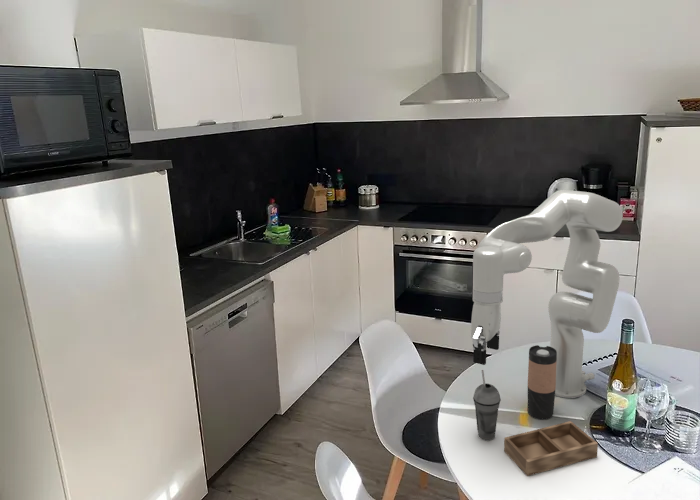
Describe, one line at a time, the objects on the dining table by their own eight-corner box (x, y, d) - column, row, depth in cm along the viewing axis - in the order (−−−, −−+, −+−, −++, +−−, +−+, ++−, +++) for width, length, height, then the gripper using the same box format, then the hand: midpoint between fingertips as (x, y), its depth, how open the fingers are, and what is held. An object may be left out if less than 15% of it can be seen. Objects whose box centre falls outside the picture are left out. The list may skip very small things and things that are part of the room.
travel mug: (540, 423, 158) (543, 359, 152) (521, 410, 164) (522, 349, 159) (560, 415, 161) (563, 352, 156) (540, 403, 168) (542, 342, 162)
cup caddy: (569, 434, 152) (570, 421, 151) (596, 457, 142) (598, 443, 141) (504, 451, 147) (504, 437, 146) (527, 476, 137) (527, 461, 136)
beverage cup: (500, 444, 150) (502, 377, 144) (473, 442, 151) (473, 376, 146) (499, 428, 156) (500, 364, 151) (472, 426, 158) (473, 363, 152)
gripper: (485, 282, 151) (484, 340, 156) (460, 303, 137) (460, 366, 142) (512, 286, 147) (510, 346, 152) (490, 308, 133) (488, 373, 138)
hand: (486, 355), depth 147 cm, fingers open, 9 cm apart
